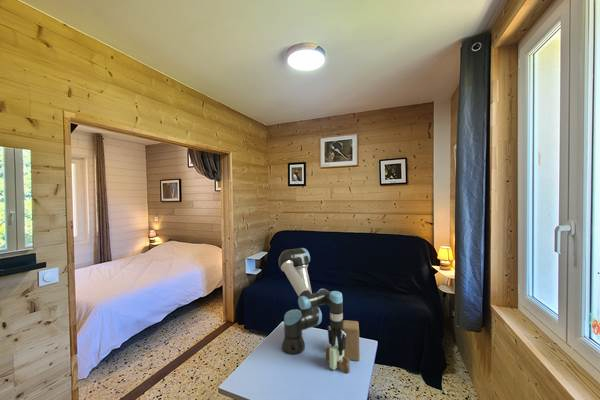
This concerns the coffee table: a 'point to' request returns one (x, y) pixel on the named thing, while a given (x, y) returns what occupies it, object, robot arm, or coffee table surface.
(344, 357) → the brown wooden bracket
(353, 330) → the wooden block
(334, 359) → the pale green block
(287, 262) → the robot arm
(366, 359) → the coffee table surface
